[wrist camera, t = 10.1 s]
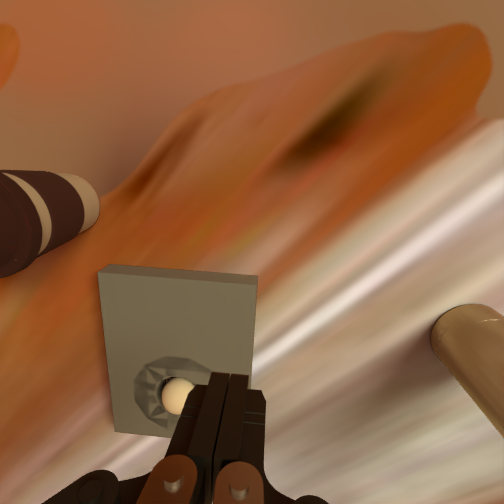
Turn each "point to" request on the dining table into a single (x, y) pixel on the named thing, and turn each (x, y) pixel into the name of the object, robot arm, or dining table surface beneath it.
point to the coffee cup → (41, 214)
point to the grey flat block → (171, 336)
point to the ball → (176, 394)
